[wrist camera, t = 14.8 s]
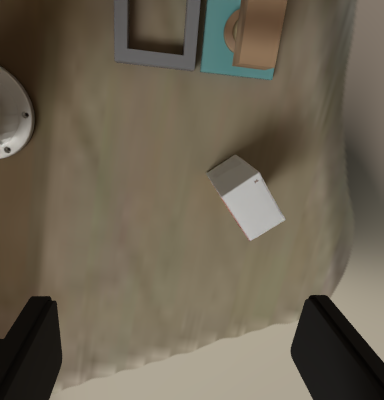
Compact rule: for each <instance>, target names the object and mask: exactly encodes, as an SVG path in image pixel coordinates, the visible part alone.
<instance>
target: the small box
mask: <svg viewBox="0 0 384 400" xmlns="http://www.w3.org/2000/svg"><path fill="white" fill-rule="evenodd" d="M206 175H207V176H208V178H209V180H210V181H211V183H212V184H213V186H214V187H215V189H216V191H217V192H218V194H219V196H220V197H221V199H222V200H223V202H224V204H225V205H226V207H227V208H228V210H229V211H230V213H231V215H232V216H233V218H234V219H235V221H236V222H237V223H238V225H239V226H240V228H241V229H242V231H243V232H244V234H245V235H246V236H247V238H248V239H249V241H251V240H253V239H255V238H256V237H258V236H260V235H261V234H263V233H265V232H266V231H268V230H269V229H271V228H273V227H274V226H276V225H278V224H279V223H281V222H283V221H285V220H286V218H285V217H284V215H283V214H282V212H281V210H280V209H279V207H278V205H277V204H276V202H275V200H274V198H273V196H272V195H271V193H270V191H269V189H268V187H267V186H266V184H265V182H264V180H263V178H262V176H261V174H260V172H259V171H257V170H256V169H255V168H253V167H252V166H251V165H250V164H248V163H247V162H246V161H244V160H243V159H242V158H240V157H239V156H237V155H236V154H235V155H233V156H232V157H230V158H229V159H227V160H226V161H224V162H223V163H221V164H220V165H218V166H217V167H215V168H214V169H212V170H210V171H209V172H207V173H206Z"/></svg>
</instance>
